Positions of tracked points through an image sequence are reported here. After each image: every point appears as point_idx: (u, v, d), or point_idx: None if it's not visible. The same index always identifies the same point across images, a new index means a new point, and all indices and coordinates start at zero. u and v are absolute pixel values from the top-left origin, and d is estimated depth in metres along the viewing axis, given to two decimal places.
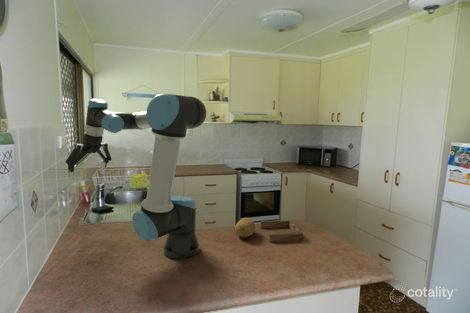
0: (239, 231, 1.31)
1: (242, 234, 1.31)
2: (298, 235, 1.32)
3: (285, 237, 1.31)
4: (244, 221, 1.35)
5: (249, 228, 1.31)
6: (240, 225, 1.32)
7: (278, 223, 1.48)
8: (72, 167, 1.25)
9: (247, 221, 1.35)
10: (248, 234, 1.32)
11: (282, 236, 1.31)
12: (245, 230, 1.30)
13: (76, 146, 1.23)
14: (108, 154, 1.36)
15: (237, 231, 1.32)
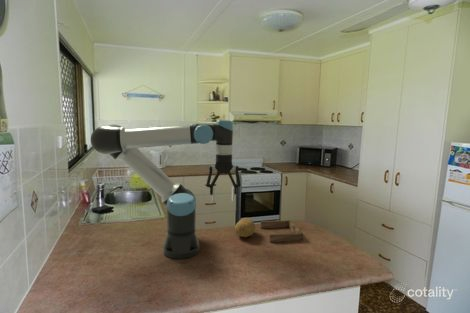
0: (239, 231, 1.31)
1: (242, 234, 1.31)
2: (298, 235, 1.32)
3: (285, 237, 1.31)
4: (244, 221, 1.35)
5: (249, 228, 1.31)
6: (240, 225, 1.32)
7: (278, 223, 1.48)
8: (211, 190, 1.31)
9: (247, 221, 1.35)
10: (248, 234, 1.32)
11: (282, 236, 1.31)
12: (245, 230, 1.30)
13: (209, 168, 1.31)
14: (238, 178, 1.32)
15: (237, 231, 1.32)
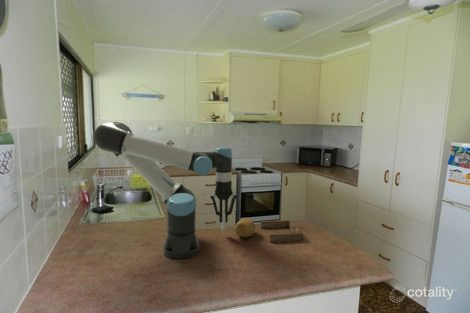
0: (239, 231, 1.31)
1: (242, 234, 1.31)
2: (298, 235, 1.32)
3: (285, 237, 1.31)
4: (244, 221, 1.35)
5: (249, 228, 1.31)
6: (240, 225, 1.32)
7: (278, 223, 1.48)
8: (220, 217, 1.34)
9: (247, 221, 1.35)
10: (248, 234, 1.32)
11: (282, 236, 1.31)
12: (245, 230, 1.30)
13: (211, 198, 1.33)
14: (231, 206, 1.34)
15: (237, 231, 1.32)
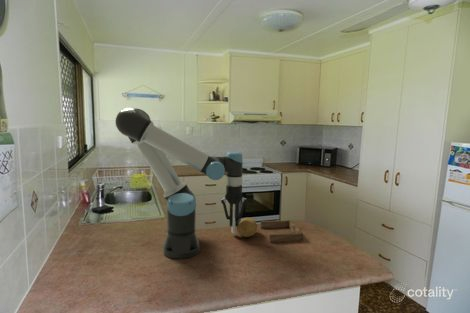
0: (241, 231, 1.31)
1: (244, 234, 1.31)
2: (298, 235, 1.32)
3: (285, 237, 1.31)
4: (246, 221, 1.35)
5: (251, 228, 1.31)
6: (242, 225, 1.32)
7: (278, 223, 1.48)
8: (230, 222, 1.35)
9: (249, 221, 1.35)
10: (250, 234, 1.32)
11: (282, 236, 1.31)
12: (247, 230, 1.30)
13: None
14: (241, 211, 1.35)
15: (239, 231, 1.32)
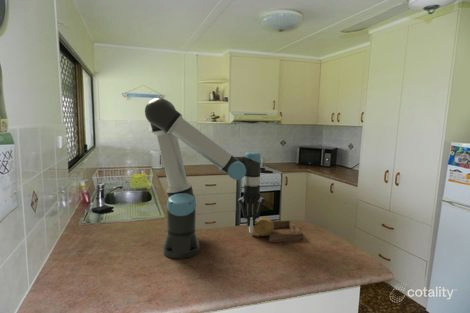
0: (260, 230, 1.33)
1: (262, 233, 1.33)
2: (298, 235, 1.32)
3: (285, 237, 1.31)
4: (264, 220, 1.36)
5: (269, 227, 1.33)
6: (260, 224, 1.33)
7: (278, 223, 1.48)
8: (248, 221, 1.36)
9: (267, 220, 1.37)
10: (268, 233, 1.33)
11: (282, 236, 1.31)
12: (266, 229, 1.32)
13: (239, 201, 1.35)
14: (259, 210, 1.36)
15: (257, 230, 1.34)
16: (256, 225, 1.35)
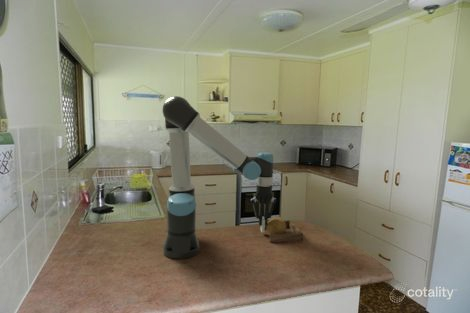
0: (271, 230, 1.34)
1: (274, 233, 1.34)
2: (298, 235, 1.32)
3: (285, 237, 1.31)
4: (276, 220, 1.37)
5: (281, 227, 1.34)
6: (272, 224, 1.34)
7: None
8: (260, 221, 1.37)
9: (279, 220, 1.37)
10: (280, 233, 1.34)
11: (282, 236, 1.31)
12: (278, 229, 1.33)
13: None
14: (271, 210, 1.37)
15: (269, 230, 1.35)
16: (268, 225, 1.36)
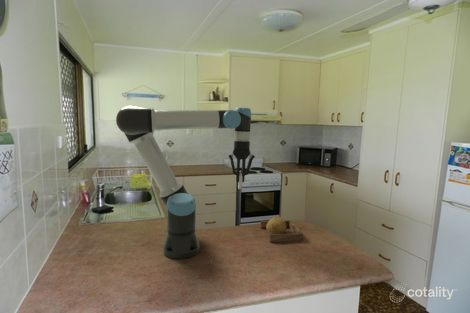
0: (271, 230, 1.34)
1: (274, 232, 1.34)
2: (298, 235, 1.32)
3: (285, 237, 1.31)
4: (276, 220, 1.37)
5: (281, 227, 1.34)
6: (272, 224, 1.34)
7: None
8: (237, 177, 1.37)
9: (279, 220, 1.37)
10: (280, 233, 1.34)
11: (282, 236, 1.31)
12: (278, 229, 1.33)
13: (229, 157, 1.36)
14: (249, 167, 1.36)
15: (269, 230, 1.35)
16: (268, 225, 1.37)
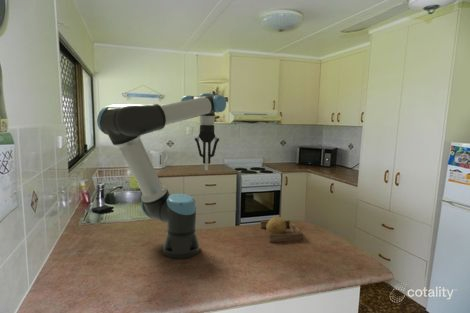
0: (271, 230, 1.34)
1: (274, 233, 1.34)
2: (298, 235, 1.32)
3: (285, 237, 1.31)
4: (276, 220, 1.37)
5: (281, 227, 1.34)
6: (272, 224, 1.34)
7: None
8: (204, 159, 1.46)
9: (279, 220, 1.37)
10: (280, 233, 1.34)
11: (282, 236, 1.31)
12: (278, 229, 1.33)
13: (195, 140, 1.45)
14: (214, 149, 1.46)
15: (269, 230, 1.35)
16: (268, 225, 1.36)
